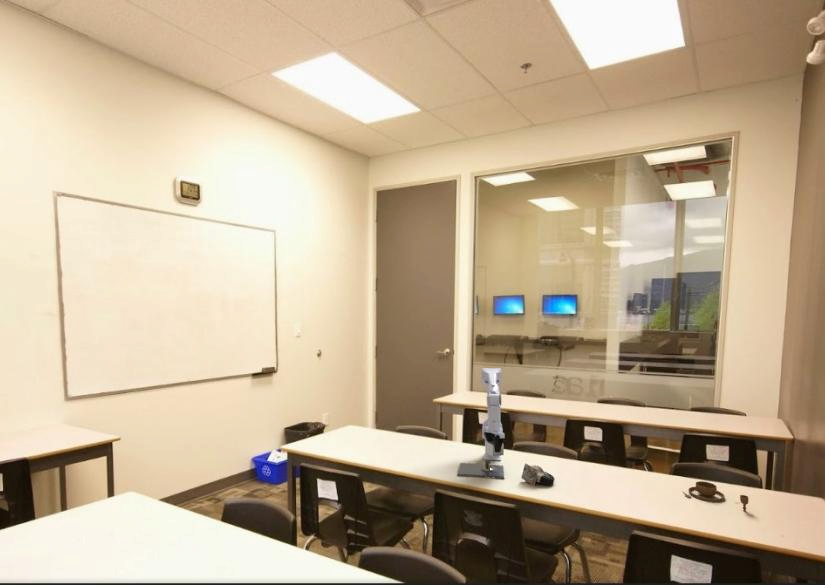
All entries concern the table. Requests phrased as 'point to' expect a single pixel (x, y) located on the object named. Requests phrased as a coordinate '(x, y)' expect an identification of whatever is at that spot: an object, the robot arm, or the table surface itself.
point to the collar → (492, 449)
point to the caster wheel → (536, 475)
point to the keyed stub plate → (481, 470)
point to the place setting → (712, 493)
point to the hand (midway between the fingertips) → (494, 450)
